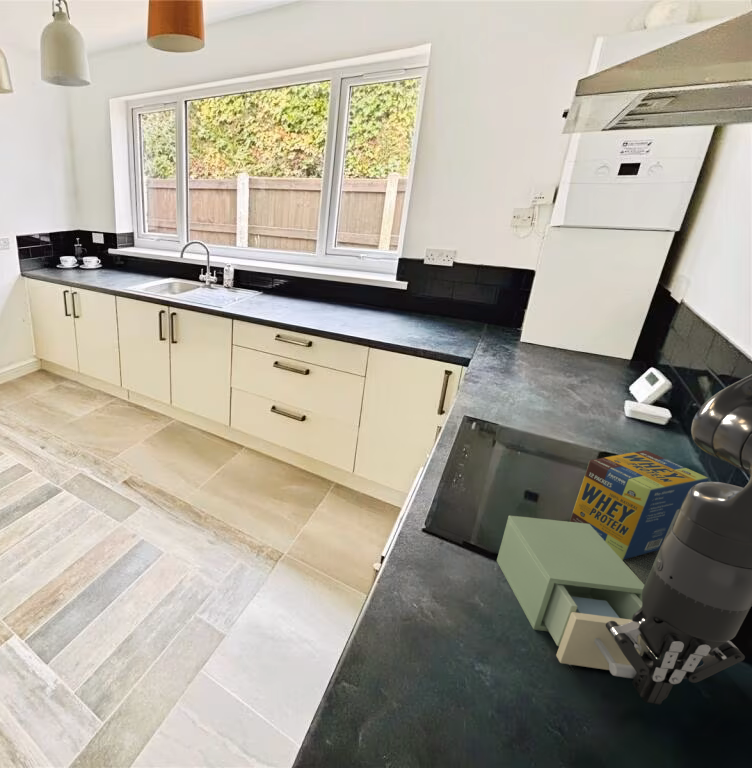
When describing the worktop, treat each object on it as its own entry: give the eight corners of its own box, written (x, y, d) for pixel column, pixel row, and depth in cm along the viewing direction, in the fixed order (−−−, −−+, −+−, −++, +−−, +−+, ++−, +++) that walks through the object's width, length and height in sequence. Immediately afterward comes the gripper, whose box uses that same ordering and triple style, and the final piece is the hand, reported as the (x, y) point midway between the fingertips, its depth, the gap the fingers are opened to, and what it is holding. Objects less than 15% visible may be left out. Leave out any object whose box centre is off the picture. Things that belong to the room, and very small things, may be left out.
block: (598, 621, 66) (606, 600, 65) (615, 645, 63) (624, 623, 61) (561, 617, 67) (568, 595, 66) (575, 640, 63) (584, 618, 62)
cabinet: (627, 642, 66) (649, 590, 62) (533, 629, 67) (550, 578, 64) (573, 569, 79) (589, 523, 76) (496, 560, 81) (508, 515, 77)
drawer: (682, 714, 55) (706, 668, 52) (580, 699, 57) (598, 652, 54) (594, 597, 72) (609, 557, 70) (518, 587, 74) (529, 548, 71)
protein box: (565, 528, 90) (588, 459, 84) (621, 515, 94) (646, 449, 89) (621, 565, 80) (650, 489, 75) (680, 549, 85) (711, 476, 79)
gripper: (656, 599, 45) (604, 719, 51) (810, 617, 43) (737, 739, 49) (610, 548, 52) (568, 659, 58) (740, 562, 50) (684, 675, 56)
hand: (646, 696), depth 54 cm, fingers closed
